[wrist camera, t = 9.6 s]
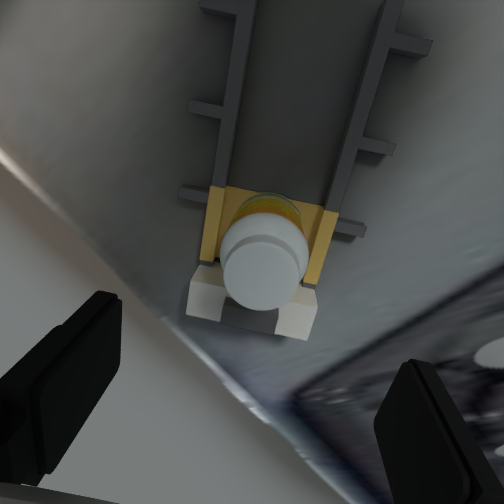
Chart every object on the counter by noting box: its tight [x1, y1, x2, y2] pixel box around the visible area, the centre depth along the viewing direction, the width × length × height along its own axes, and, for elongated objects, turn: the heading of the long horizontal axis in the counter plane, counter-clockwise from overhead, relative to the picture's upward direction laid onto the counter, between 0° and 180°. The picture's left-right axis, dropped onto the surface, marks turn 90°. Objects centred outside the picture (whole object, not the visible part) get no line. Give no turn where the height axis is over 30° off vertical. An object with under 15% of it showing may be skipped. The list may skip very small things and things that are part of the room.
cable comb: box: [178, 0, 433, 341], centre depth 22 cm, size 22×14×5 cm, turn 169°
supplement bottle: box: [220, 192, 309, 311], centre depth 21 cm, size 5×5×10 cm
